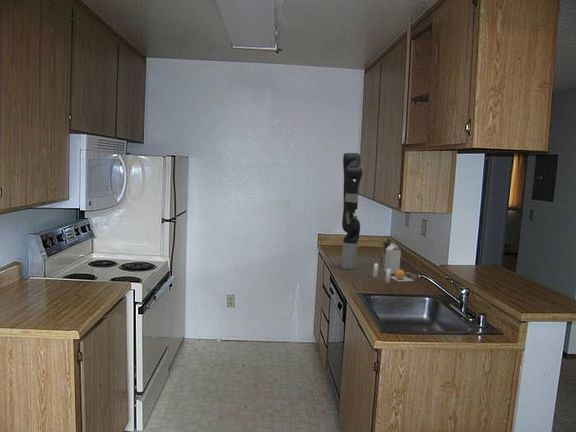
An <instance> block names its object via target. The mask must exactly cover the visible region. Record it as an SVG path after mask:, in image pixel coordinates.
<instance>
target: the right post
mask: <svg viewBox="0 0 576 432" xmlns="http://www.w3.org/2000/svg"><path fill="white" fill-rule="evenodd" d="M391 275H392V274H391V269H387V270H386V272H385V283H386V284H390V283H391V278H390V277H392V276H391Z"/></svg>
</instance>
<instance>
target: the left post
mask: <svg viewBox="0 0 576 432" xmlns="http://www.w3.org/2000/svg"><path fill="white" fill-rule="evenodd" d="M378 273H379V263H376V262H375V263H373V273H372V276H373V278H378V275H379V274H378Z"/></svg>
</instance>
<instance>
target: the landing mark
mask: <svg viewBox="0 0 576 432" xmlns="http://www.w3.org/2000/svg"><path fill="white" fill-rule="evenodd" d="M390 279H393V280H395V281H397V282H415V281H414V280H412V279H410V278H407V277H404V278H403V279H397V278H396V277H395V276H391V277H390Z"/></svg>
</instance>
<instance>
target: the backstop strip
mask: <svg viewBox="0 0 576 432" xmlns="http://www.w3.org/2000/svg"><path fill="white" fill-rule="evenodd" d="M404 272H405V277H407V278H410V279H412V280H414V281H413V282H416V281H418V275H416V274H413V273H411V272H410V271H404Z"/></svg>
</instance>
